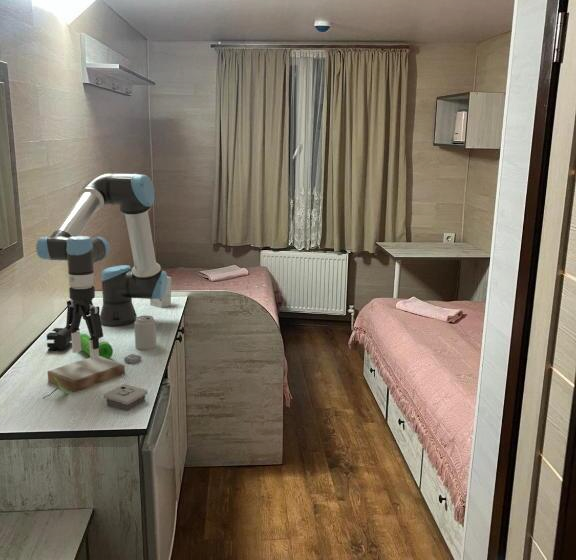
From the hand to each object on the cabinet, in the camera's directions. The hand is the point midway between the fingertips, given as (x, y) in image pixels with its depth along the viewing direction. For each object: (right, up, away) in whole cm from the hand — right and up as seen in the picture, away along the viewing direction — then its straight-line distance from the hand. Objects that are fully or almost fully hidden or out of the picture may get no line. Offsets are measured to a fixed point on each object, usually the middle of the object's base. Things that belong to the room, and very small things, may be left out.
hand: (85, 354), depth 199 cm
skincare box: (+7, +11, +85) cm, 86 cm away
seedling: (-8, -12, -14) cm, 20 cm away
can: (+12, -2, +31) cm, 33 cm away
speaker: (-4, -3, +23) cm, 23 cm away
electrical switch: (+13, -13, -15) cm, 24 cm away
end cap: (-19, -1, +31) cm, 36 cm away
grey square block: (+11, -5, +16) cm, 20 cm away
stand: (0, -8, +2) cm, 8 cm away
